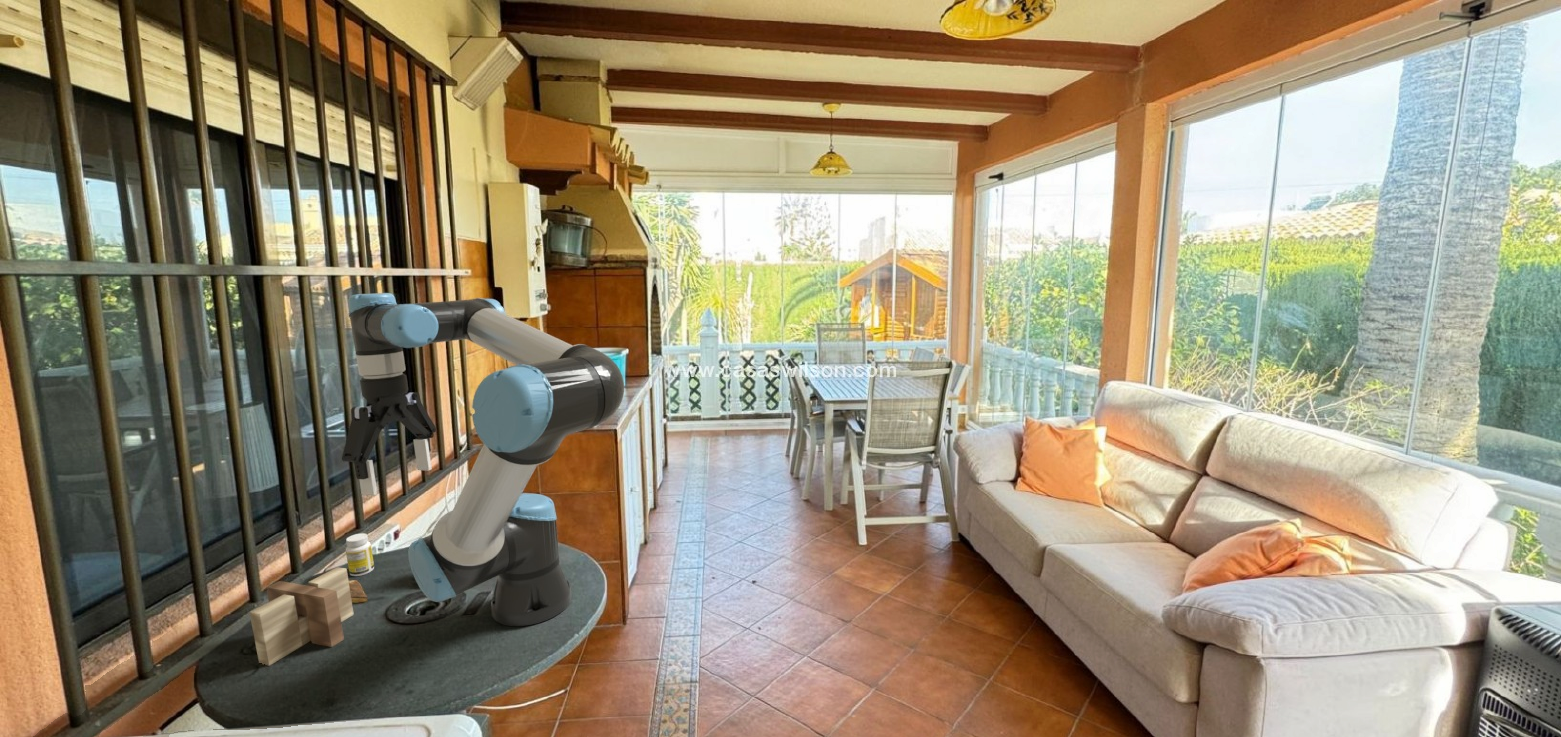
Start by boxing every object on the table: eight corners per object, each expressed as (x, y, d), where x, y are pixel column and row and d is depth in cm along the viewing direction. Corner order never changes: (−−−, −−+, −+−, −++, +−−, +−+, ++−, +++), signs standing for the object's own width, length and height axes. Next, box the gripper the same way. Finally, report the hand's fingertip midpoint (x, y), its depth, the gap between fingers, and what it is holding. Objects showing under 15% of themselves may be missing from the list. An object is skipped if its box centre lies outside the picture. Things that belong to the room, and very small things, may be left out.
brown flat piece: (368, 604, 127) (367, 596, 127) (323, 619, 122) (322, 611, 122) (358, 584, 135) (357, 577, 135) (315, 597, 130) (314, 590, 130)
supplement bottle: (363, 565, 143) (358, 531, 141) (379, 567, 141) (374, 533, 140) (344, 575, 138) (338, 540, 136) (361, 578, 137) (355, 543, 135)
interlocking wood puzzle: (353, 614, 123) (346, 568, 121) (269, 665, 108) (259, 614, 106) (344, 613, 123) (337, 567, 122) (259, 663, 108) (249, 612, 106)
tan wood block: (344, 639, 115) (336, 590, 113) (331, 647, 112) (323, 597, 111) (288, 628, 118) (279, 580, 117) (275, 635, 116) (266, 587, 114)
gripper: (415, 364, 129) (429, 460, 133) (305, 388, 105) (324, 505, 109) (447, 364, 128) (459, 461, 131) (341, 388, 104) (360, 506, 107)
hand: (398, 481), depth 120 cm, fingers open, 13 cm apart
